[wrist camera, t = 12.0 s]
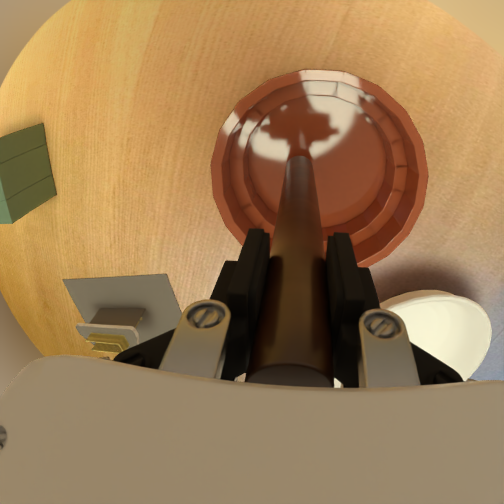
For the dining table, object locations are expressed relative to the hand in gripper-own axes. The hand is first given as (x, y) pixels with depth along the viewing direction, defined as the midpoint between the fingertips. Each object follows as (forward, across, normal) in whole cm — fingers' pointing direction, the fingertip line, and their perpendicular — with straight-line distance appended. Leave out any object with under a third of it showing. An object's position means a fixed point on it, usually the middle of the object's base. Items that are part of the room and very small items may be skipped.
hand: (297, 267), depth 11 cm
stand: (+17, +32, -2) cm, 37 cm away
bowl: (+17, -14, +19) cm, 29 cm away
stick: (+15, 0, 0) cm, 15 cm away
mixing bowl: (+17, -2, 0) cm, 17 cm away
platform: (+17, +22, +20) cm, 34 cm away
